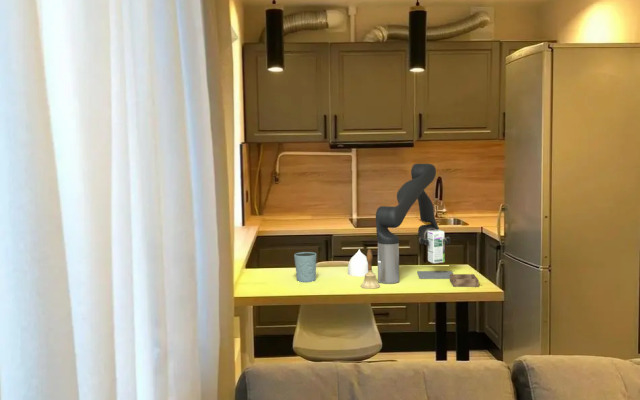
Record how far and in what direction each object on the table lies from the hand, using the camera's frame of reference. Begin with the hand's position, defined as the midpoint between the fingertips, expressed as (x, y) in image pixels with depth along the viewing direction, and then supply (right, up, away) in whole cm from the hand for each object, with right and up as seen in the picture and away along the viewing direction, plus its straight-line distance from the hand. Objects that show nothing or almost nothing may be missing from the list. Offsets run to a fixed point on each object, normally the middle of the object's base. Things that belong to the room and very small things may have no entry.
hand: (436, 243), depth 250 cm
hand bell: (-31, -18, -14) cm, 38 cm away
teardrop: (-34, -15, +11) cm, 39 cm away
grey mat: (0, -15, +3) cm, 15 cm away
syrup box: (0, -9, +3) cm, 9 cm away
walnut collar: (+9, -16, -12) cm, 22 cm away
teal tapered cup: (-59, -17, 0) cm, 61 cm away
